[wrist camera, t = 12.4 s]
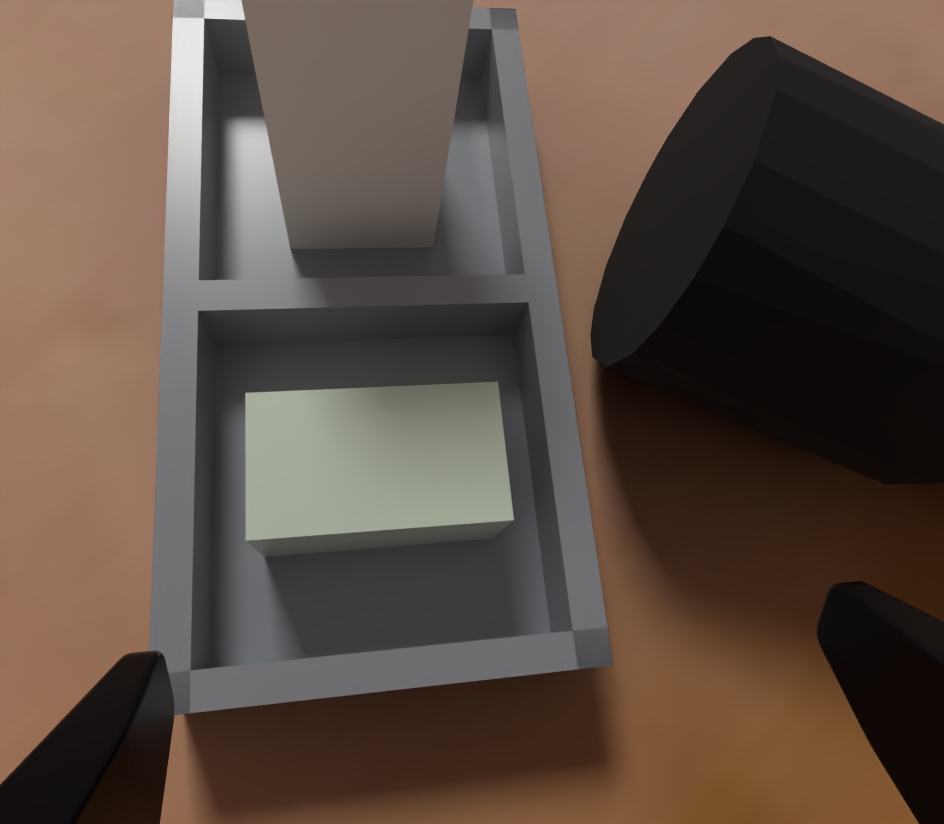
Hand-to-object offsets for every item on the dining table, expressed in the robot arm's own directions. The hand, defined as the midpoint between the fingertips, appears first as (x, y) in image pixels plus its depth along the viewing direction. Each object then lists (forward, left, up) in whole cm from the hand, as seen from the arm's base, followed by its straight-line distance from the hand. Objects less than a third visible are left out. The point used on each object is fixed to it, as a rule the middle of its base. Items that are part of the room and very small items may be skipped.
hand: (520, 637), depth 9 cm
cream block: (+12, +10, -13) cm, 20 cm away
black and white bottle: (+17, -16, -14) cm, 27 cm away
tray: (+8, +7, -14) cm, 17 cm away
